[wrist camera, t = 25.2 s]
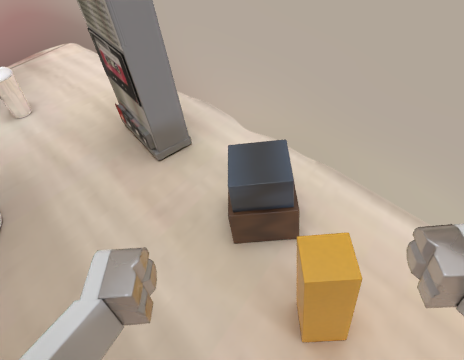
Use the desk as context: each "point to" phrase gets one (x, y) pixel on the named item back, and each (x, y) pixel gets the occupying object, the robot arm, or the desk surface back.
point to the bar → (326, 286)
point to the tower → (261, 192)
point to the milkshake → (13, 94)
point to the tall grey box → (138, 71)
